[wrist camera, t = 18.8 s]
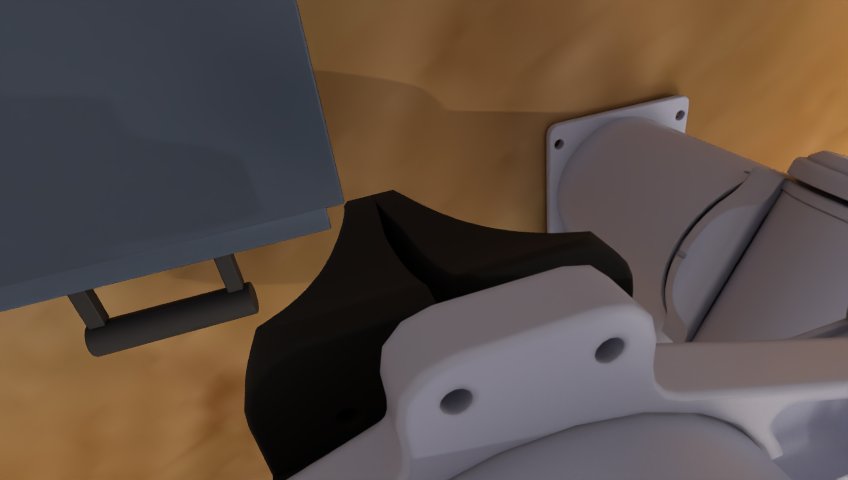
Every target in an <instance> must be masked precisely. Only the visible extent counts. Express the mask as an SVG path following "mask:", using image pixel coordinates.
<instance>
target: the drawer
mask: <svg viewBox="0 0 848 480" xmlns="http://www.w3.org/2000/svg"><path fill="white" fill-rule="evenodd" d="M328 229H331V224H330V221H329V217H328V213H327V209H326V208H324V209H320V210H316V211H312V212H308V213H304V214H300V215H295V216H291V217H287V218H283V219H279V220H275V221H271V222H267V223H263V224H258V225H254V226H250V227H246V228H242V229H238V230H234V231H230V232H226V233H222V234H217V235H213V236H209V237H205V238H201V239H197V240H193V241H189V242H185V243H180V244H176V245H172V246H168V247H164V248H160V249H156V250H152V251H148V252H143V253H139V254H135V255H131V256H127V257H123V258H119V259H115V260H111V261H106V262H102V263H98V264H94V265H90V266H86V267H82V268H78V269H74V270H70V271H65V272H61V273H57V274H53V275H49V276H45V277H41V278H37V279H33V280H28V281H24V282H20V283H16V284H12V285H8V286H4V287H0V312H2V311H6V310H10V309H14V308H18V307H22V306H26V305H30V304H34V303H38V302H42V301H46V300H50V299H54V298H58V297H62V296H66V295H67V296H68V297H69V299H70V301H71V302H72V304H73V305H74V307H75V309H76V310H77V312H78V313H79V315H80V317H81V318H82V320H83V321H84V323H85V324H86V326H87V327H86V329H85V342H86V346H87V348H88V350H89V352H90V353H91V354H92V355H93V356H96V357H100V356H103V355H107V354H111V353H114V352H118V351H122V350H125V349H129V348H133V347H136V346H140V345H144V344H147V343H151V342H154V341H158V340H162V339H165V338H169V337H173V336H176V335H180V334H184V333H187V332H191V331H195V330H198V329H202V328H206V327H209V326H213V325H217V324H220V323H224V322H227V321H231V320H235V319H238V318H242V317H246V316H249V315H253V314H257V313H258V311H259V305H258V299H257V295H256V292H255V289H254V287H253V285H252V284H251V282H246V283H244V280H243V278H242V275H241V272H240V270H239V267H238V265H237V262H236V260H235V257H234V255H233V253H237V252H241V251H245V250H249V249H253V248H257V247H261V246H265V245H269V244H273V243H277V242H281V241H285V240H289V239H292V238H296V237H300V236H304V235H308V234H312V233H316V232H320V231H324V230H328ZM213 258H214V261H215V263H216V265H217V268H218V270H219V272H220V275H221V277H222V280H223V282H224V284H225V287H226V288H223V289H219V290H215V291H212V292H208V293H204V294H200V295H196V296H193V297H189V298H185V299H181V300H177V301H173V302H170V303H166V304H162V305H158V306H154V307H151V308H147V309H143V310H139V311H135V312H132V313H128V314H124V315H120V316H116V317H112V318H109V315H108V314H107V312H106V310H105V309H104V307H103V305H102V303H101V302H100V300H99V298H98V297H97V295H96V293H95V292H94V290H93V288H97V287H101V286H105V285H109V284H113V283H117V282H121V281H125V280H129V279H133V278H137V277H141V276H145V275H149V274H153V273H157V272H161V271H165V270H169V269H173V268H177V267H181V266H185V265H189V264H193V263H197V262H201V261H205V260H209V259H213ZM108 318H109V319H108Z"/></svg>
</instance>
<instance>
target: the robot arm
mask: <svg viewBox="0 0 848 480" xmlns="http://www.w3.org/2000/svg"><path fill="white" fill-rule="evenodd" d="M688 107H689V100H688V98H687V97H686V96H683V95H675V96H671V97H666V98H662V99H658V100H653V101H649V102H645V103H641V104H636V105H632V106H628V107H623V108H619V109H615V110H610V111H606V112H602V113H598V114H593V115H589V116H585V117H580V118H576V119H572V120H567V121H563V122H559V123H555V124H553V125H551V126H550V127H549V129H548V131H547V233H533V232H518V231H509V230H502V229H495V228H489V227H484V226H480V225H476V224H472V223H468V222H464V221H461V220H458V219H455V218H452V217H450V216H447V215H444V214H442V213H439V212H437V211H434V210H432V209H430V208H428V207H426V206H423V205H421V204H419V203H417V202H415V201H413V200H412V199H410V198H408V197H406V196H404V195H402V194H400V193H398V192H396V191H394V190H390V191H386V192H382V193H378V194H375V195H371V196H367V197H363V198H359V199H355V200H351V201H347V203H346V204H345V206H344V209H345V212H344V219H343V223H342V227H341V230H340V233H339V237H338V239H337V242H336V244H335V246H334V249H333V251H332V253H331V255H330V257H329V259H328V261H327V263H326V264H325V266H324V268H323V269H322V271H321V272H320V274H319V275H318V276H317V277H316V279H315V280H314V281H313V282H312V283H311V285H310V286H309V287H308V288H307V289H306V290H305V291H304V292H303V293H302V294H301V295H300V296H299V297H298V298H297V299H296V300H294V301H293V302H292V303H291V304H290V305H289V306H287V307H286V308H285V309H284V310H282V311H281V312H279V313H278V314H277V315H275V316H274V317H272V318H271V319H269V320H268V321H266V322H265V323H264V324H262V325H260V326H259V327H257V329H256V332H255V335H254V339H253V343H252V346H251V350H250V355H249V359H248V364H247V370H246V379H245V407H244V411H245V415H246V419H247V422H248V426H249V428H250V430H251V432H252V434H253V436H254V438H255V440H256V442H257V444H258V447H259V449H260V451H261V453H262V455H263V457H264V459H265V461H266V463H267V465H268V467H269V469H270V471H271V473H272V475H273V480H848V156H844V155H841V154H837V153H834V152H830V151H821V152H818V153H815V154H812V155H809V156H808V157H798V158H796V159H795V160H794V161H793V163H792V164H791V166H790V168H789V169H788V171H787V173H789V174H787V173H783V172H779V171H777V170H774V169H772V168H769V167H767V166H764V165H762V164H759V163H757V162H755V161H752V160H750V159H747V158H745V157H742V156H740V155H737V154H735V153H732V152H730V151H727V150H725V149H722V148H720V147H717V146H715V145H712V144H710V143H707V142H705V141H702V140H700V139H697V138H695V137H692V136H690V135H688V134H685V128H686V121H687V114H688ZM678 111H679V114H678V116H677V117H676V114H677V113H678ZM559 139H560V143H559V145H558V146H556V147H554V144H555V142H556V141H557V140H559Z"/></svg>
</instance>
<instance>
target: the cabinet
mask: <svg viewBox="0 0 848 480" xmlns="http://www.w3.org/2000/svg"><path fill="white" fill-rule="evenodd" d="M343 203H344V198H343V194H342V189H341V185H340V181H339V177H338V173H337V168H336V164H335V160H334V156H333V152H332V148H331V143H330V139H329V135H328V131H327V127H326V122H325V118H324V114H323V110H322V106H321V101H320V97H319V93H318V89H317V85H316V81H315V76H314V72H313V68H312V64H311V60H310V55H309V51H308V47H307V43H306V39H305V35H304V30H303V26H302V22H301V18H300V14H299V9H298V5H297V1H296V0H0V287H4V286H8V285H12V284H16V283H20V282H24V281H28V280H33V279H37V278H41V277H45V276H49V275H53V274H57V273H61V272H65V271H70V270H74V269H78V268H82V267H86V266H90V265H94V264H98V263H102V262H106V261H111V260H115V259H119V258H123V257H127V256H131V255H135V254H139V253H143V252H148V251H152V250H156V249H160V248H164V247H168V246H172V245H176V244H180V243H185V242H189V241H193V240H197V239H201V238H205V237H209V236H213V235H217V234H222V233H226V232H230V231H234V230H238V229H242V228H246V227H250V226H254V225H258V224H263V223H267V222H271V221H275V220H279V219H283V218H287V217H291V216H295V215H300V214H304V213H308V212H312V211H316V210H320V209H324V208H328V207H332V206H337V205H341V204H343Z"/></svg>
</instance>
